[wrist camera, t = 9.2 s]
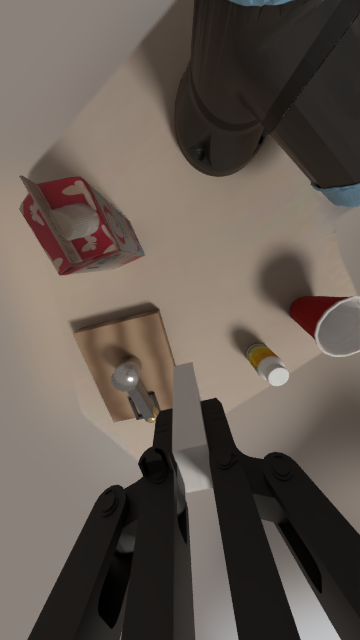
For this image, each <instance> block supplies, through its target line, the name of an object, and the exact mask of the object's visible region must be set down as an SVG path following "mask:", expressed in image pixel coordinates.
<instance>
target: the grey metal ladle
mask: <svg viewBox="0 0 360 640" xmlns="http://www.w3.org/2000/svg"><path fill="white" fill-rule="evenodd" d="M141 370H142V364H141V362H140V361H139V360H138V359H137V358H136V357H133V356H126V357H124V358H122V359H121V360H120V362H119V364H118V365H117V367H116V369H115V371H114V373H113V374H112V377H111V383H112V385H113V386H114V387H115V388H116V389H117V390H119V391H123V392H128V394H129V396H130V397H131V399H132V400H133V402H134V403H135V405H136V406H137V408H138V410H139V411H140V413H141V414H142V416H143V417H144V419H145V420H146V422H149V423H153V422H155V421H156V417H157V416H158V414H159V412H158V409H157V408H156V406H155V405H154V403H153V401H152V400H151V398H150V396H149V395H148V393H147V391H146V390H145V388H144V386H143V385H142V383H141V382H140V380H139V376H140V373H141Z"/></svg>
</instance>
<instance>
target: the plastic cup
mask: <svg viewBox="0 0 360 640" xmlns="http://www.w3.org/2000/svg"><path fill="white" fill-rule="evenodd" d="M290 314H291V317H292V318H293V319H294V320H295V322H297V323H298V324H299V325H300V326H301V327H302V328H303V329H304V330H305V331H306V332H307V333H309V334H310V335H311V336H312V337H313V338H314V339H315V341H316V345H317V346H318V347H319V348H320V349H321V351H322V352H323V353H325V354H328V355H330V356H333V357H339V356H340V357H341V356H349V355H352V354H354V353H357V352H360V296H351V297H326V296H305V297H301V298H299V299H297V300H296V301H295V302H294V303H293V304H292V306H291V309H290Z"/></svg>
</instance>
